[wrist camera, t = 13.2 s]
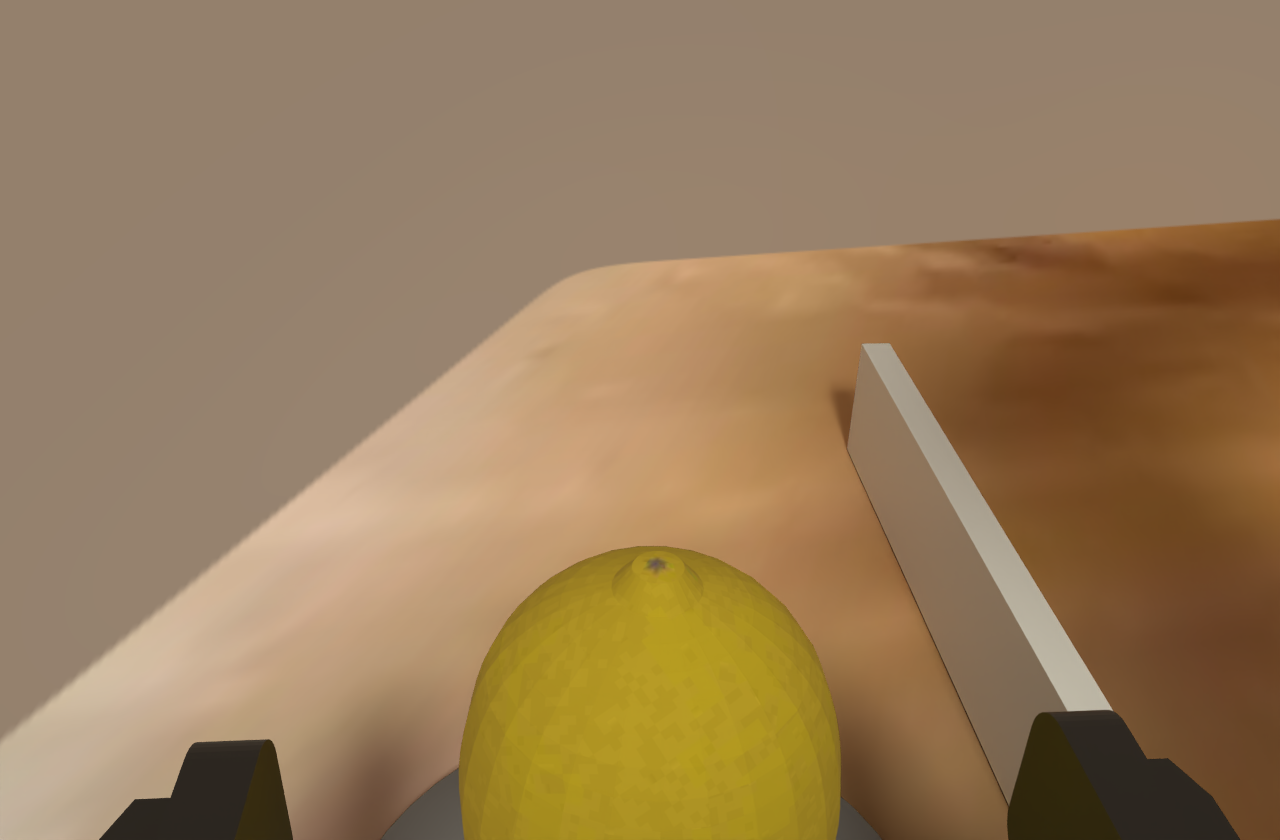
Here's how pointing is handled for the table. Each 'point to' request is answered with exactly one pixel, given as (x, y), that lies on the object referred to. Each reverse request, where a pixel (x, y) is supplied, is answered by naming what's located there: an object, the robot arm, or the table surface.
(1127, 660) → the table surface
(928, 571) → the low wall
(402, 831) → the slate mat
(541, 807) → the lemon
